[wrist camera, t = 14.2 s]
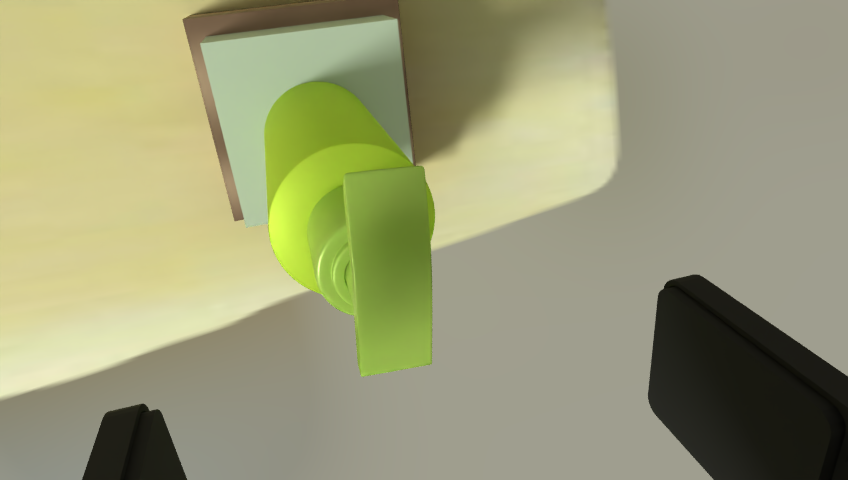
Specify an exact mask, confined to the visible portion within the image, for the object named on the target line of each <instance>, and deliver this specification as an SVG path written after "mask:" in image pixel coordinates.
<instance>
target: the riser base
mask: <svg viewBox="0 0 848 480" xmlns="http://www.w3.org/2000/svg"><path fill="white" fill-rule="evenodd" d="M377 15H385V16H389V17H392V18H396V19H397V21H398V30H399V40H400V49H401V58H402V67H403V76H404V86H405V95H406V104H407V113H408V122H409V132H410V141H411V150H412V159H413V165H414V166H416V164H415V155H414V145H413V136H412V127H411V117H410V108H409V98H408V89H407V80H406V70H405V61H404V52H403V42H402V33H401V24H400V14H399V5H398V0H318V1H310V2H301V3H292V4H284V5H275V6H266V7H258V8H249V9H241V10H232V11H223V12H215V13H206V14H197V15H190V16H188V17H186V18H184V19H183V23H184V27H185V31H186V35H187V39H188V43H189V46H190V50H191V54H192V58H193V62H194V66H195V70H196V73H197V77H198V81H199V85H200V89H201V93H202V97H203V101H204V104H205V108H206V112H207V116H208V120H209V124H210V128H211V132H212V135H213V139H214V143H215V147H216V151H217V155H218V159H219V163H220V166H221V170H222V174H223V178H224V182H225V186H226V190H227V193H228V197H229V201H230V205H231V209H232V213H233V217H234V221H238V220H243V219H244V217H243V213H242V209H241V205H240V201H239V197H238V193H237V189H236V185H235V181H234V177H233V173H232V169H231V165H230V161H229V157H228V153H227V149H226V145H225V141H224V137H223V133H222V129H221V125H220V121H219V117H218V113H217V109H216V105H215V101H214V97H213V93H212V89H211V85H210V81H209V77H208V73H207V69H206V65H205V61H204V57H203V53H202V49H201V45H200V43H201V42H202V41H203V40H204V39H205V37H206V36H214V35H222V34H230V33H238V32H247V31H255V30H263V29H271V28H279V27H287V26H295V25H304V24H312V23H320V22H328V21H336V20H344V19H352V18H360V17H369V16H377Z"/></svg>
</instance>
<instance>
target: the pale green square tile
mask: <svg viewBox="0 0 848 480" xmlns="http://www.w3.org/2000/svg"><path fill="white" fill-rule="evenodd" d="M200 45H201V49H202V53H203V57H204V61H205V65H206V69H207V73H208V77H209V81H210V85H211V89H212V93H213V97H214V101H215V105H216V109H217V113H218V117H219V121H220V125H221V129H222V133H223V137H224V141H225V145H226V149H227V153H228V157H229V161H230V165H231V169H232V173H233V177H234V181H235V185H236V189H237V193H238V197H239V201H240V205H241V209H242V213H243V217H244V221H245V225H246V228H247V227H252V226H258V225H263V224H268V209H267V187H266V165H265V143H264V128H265V122H266V119H267V116H268V113H269V111H270V109H271V107H272V106H273V104H274V103H275V102H276V101H277V99H278V98H279V97H280V96H281V95H282V94H284V93H285V92H286V91H288V90H289V89H291V88H293V87H295V86H297V85H300V84H303V83H308V82H328V83H332V84H336V85H338V86H341V87H343V88H345V89H347V90H348V91H350V92H351V93H352V94H354V95H355V96H356V97H357V98H358V99H359V100H360V101H361V103H362V104H363V105H364V106H365V107H366V109H367V110H368V111H369V112H370V113H371V115H372V116H373V117H374V118H375V119H376V121H377V122H378V123H379V124H380V125H381V126H382V128H383V129H384V130H385V131H386V132H387V134H388V135H389V136H390V137H391V138H392V140H393V141H394V142H395V143H396V144H397V146H398V147H399V148H400V149H401V150H402V152H403V153H404V154H405V155H406V156H407V157H408V159H409V160H410V161H411V162H412V163H413V159H412V150H411V141H410V132H409V122H408V113H407V104H406V95H405V86H404V76H403V67H402V58H401V49H400V40H399V30H398V21H397V19H396V18H392V17H389V16H385V15H377V16H369V17H360V18H352V19H344V20H336V21H328V22H320V23H312V24H304V25H295V26H287V27H279V28H271V29H263V30H255V31H247V32H238V33H230V34H222V35H214V36H206V37H205V39H204V40H203V41H202V42H201V43H200Z"/></svg>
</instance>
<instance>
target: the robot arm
mask: <svg viewBox="0 0 848 480" xmlns="http://www.w3.org/2000/svg"><path fill="white" fill-rule="evenodd" d="M648 399H649V404H650V406H651V408H652V410H653V412H654V413H655V415H656V416H657V417H658V418H659V419H660V420H661V421H662V423H663V424H664V425H665V426H666V427H667V428H668V429H669V430H670V431H671V432H672V434H673V435H674V436H675V437H676V438H677V439H678V440H679V441H680V442H681V444H682V445H683V446H684V447H685V448H686V449H687V450H688V451H689V452H690V454H691V455H692V456H693V457H694V458H695V459H696V460H697V461H698V463H700V465H701V466H702V467H703V468H704V469H705V470H706V471H707V473H708V474H709V475H710V476H711V477H712V478H713V479H714V480H848V376H846V375H845V374H843V373H842V372H840V371H839V370H838V369H836V368H835V367H833V366H832V365H830V364H829V363H827V362H826V361H824V360H823V359H822V358H820V357H819V356H817V355H816V354H814V353H813V352H811V351H810V350H808V349H807V348H805V347H804V346H802V345H801V344H800V343H798V342H797V341H795V340H794V339H792V338H791V337H790V336H788V335H786V334H785V333H784V332H782V331H781V330H779V329H778V328H776V327H775V326H774V325H772V324H771V323H769V322H768V321H766V320H765V319H763V318H762V317H760V316H759V315H758V314H756V313H755V312H753V311H752V310H750V309H749V308H747V307H746V306H744V305H743V304H742V303H740V302H739V301H737V300H736V299H734V298H733V297H731V296H730V295H728V294H727V293H726V292H724V291H722V290H721V289H720V288H718V287H717V286H715V285H714V284H712V283H711V282H709V281H708V280H707V279H705V278H704V277H702V276H700V275H690V276H686V277H682V278H677V279H673V280H670V281H668V282H667V283H666V284H665V286H664V289H663V290H661V291H660V292H659V295H658V301H657V312H656V321H655V331H654V341H653V351H652V361H651V371H650V381H649V391H648ZM82 480H187V478H186V475H185V473H184V470H183V468H182V465H181V462H180V460H179V457H178V455H177V452H176V449H175V447H174V444H173V442H172V439H171V436H170V434H169V431H168V428H167V426H166V423H165V421H164V418H163V415H162V413H161V412H160V410H158V409H157V410H152V411H149V409H148V407H147V406H146V405H145V404H139V405H135V406H131V407H126V408H122V409H118V410H114V411H109V412H107V413H106V414H105V415H104V417H103V420H102V422H101V425H100V428H99V432H98V434H97V437H96V440H95V443H94V446H93V449H92V452H91V455H90V458H89V461H88V464H87V467H86V470H85V473H84V476H83V479H82Z"/></svg>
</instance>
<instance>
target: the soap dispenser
mask: <svg viewBox="0 0 848 480" xmlns="http://www.w3.org/2000/svg"><path fill="white" fill-rule="evenodd" d="M264 143H265V165H266V187H267V209H268V230H269V237H270V242H271V245H272V248H273V251H274V253H275V255H276V257H277V259H278V261H279V263H280V264H281V266H282V267H283V268H284V269H285V271H286V272H287V273H288V274H289V275H290V276H291V277H292V278H293V279H295V280H296V281H297V282H298V283H300V284H301V285H303V286H304V287H306V288H308V289H310V290H312V291H314V292H317V293H320V294H322V295H323V296H324V298H325V299H326V300H327V301H328V302H329V303H330V304H331V305H332V306H334V307H335V308H336V309H338V310H340V311H342V312H344V313H347V314H350V315H354V320H355V332H356V345H357V359H358V366H359V370H360V374H361V376H362V377H363V376H369V375H375V374H380V373H386V372H391V371H397V370H403V369H408V368H414V367H419V366H425V365H430V364H432V266H431V244H430V241H431V238H432V234H433V230H434V223H435V209H434V202H433V198H432V195H431V192H430V189H429V187H428V185H427V183H426V180H425V172H424V167H423V166H414V165H413V163H412V162H411V161H410V160H409V159H408V157H407V156H406V155H405V154H404V153H403V152H402V150H401V149H400V148H399V147H398V146H397V144H396V143H395V142H394V141H393V140H392V138H391V137H390V136H389V135H388V134H387V132H386V131H385V130H384V129H383V128H382V126H381V125H380V124H379V123H378V122H377V121H376V119H375V118H374V117H373V116H372V115H371V113H370V112H369V111H368V110H367V109H366V107H365V106H364V105H363V104H362V103H361V101H360V100H359V99H358V98H357V97H356V96H355V95H354V94H352V93H351V92H350V91H348V90H347V89H345V88H343V87H341V86H338V85H336V84H332V83H328V82H308V83H303V84H300V85H297V86H295V87H293V88H291V89H289V90H288V91H286V92H285V93H284V94H282V95H281V96H280V97H279V98H278V99H277V101H276V102H275V103H274V104H273V106H272V107H271V109H270V111H269V113H268V116H267V119H266V122H265V128H264Z"/></svg>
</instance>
